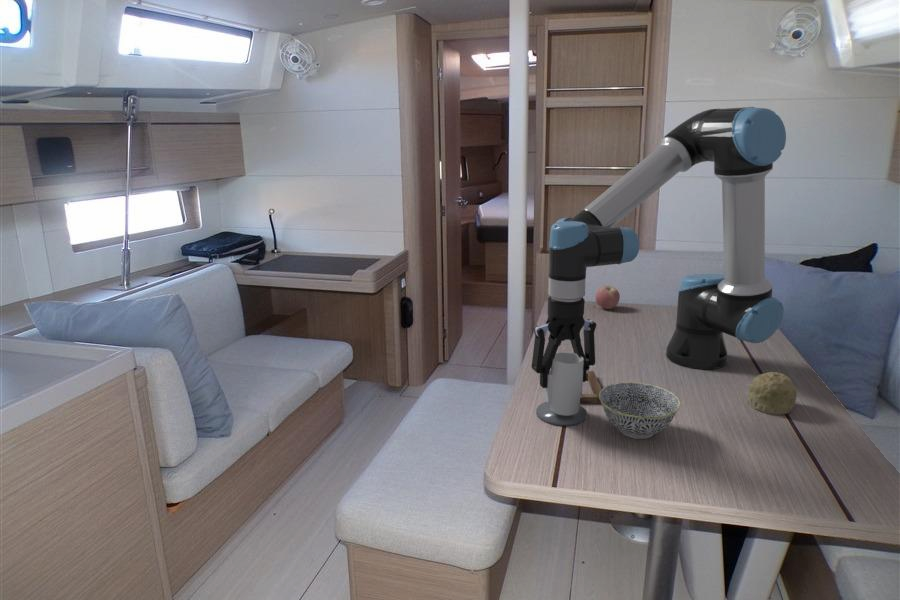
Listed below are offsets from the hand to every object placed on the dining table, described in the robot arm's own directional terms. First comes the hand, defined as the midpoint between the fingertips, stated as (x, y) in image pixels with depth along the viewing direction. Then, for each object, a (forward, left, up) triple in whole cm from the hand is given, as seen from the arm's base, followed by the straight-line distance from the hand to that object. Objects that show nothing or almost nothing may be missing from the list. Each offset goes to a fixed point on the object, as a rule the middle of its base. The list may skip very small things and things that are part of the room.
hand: (562, 397), depth 131 cm
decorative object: (-47, -5, -4) cm, 47 cm away
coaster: (0, 0, -4) cm, 4 cm away
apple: (-25, -78, -4) cm, 82 cm away
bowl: (-14, +7, -4) cm, 17 cm away
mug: (0, 0, -2) cm, 2 cm away
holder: (-4, -13, -4) cm, 14 cm away
